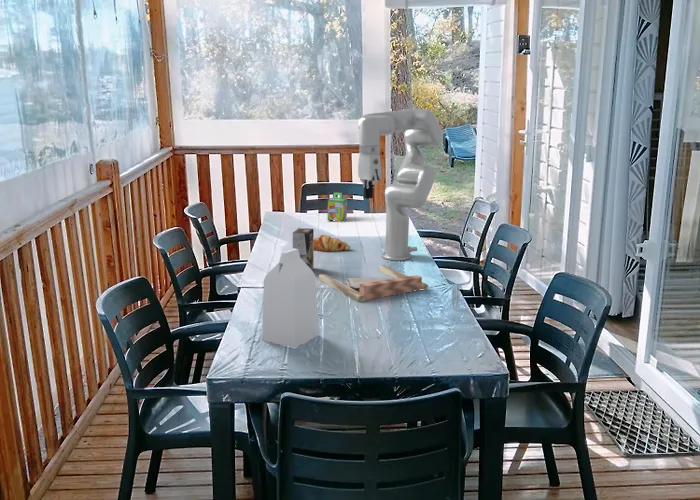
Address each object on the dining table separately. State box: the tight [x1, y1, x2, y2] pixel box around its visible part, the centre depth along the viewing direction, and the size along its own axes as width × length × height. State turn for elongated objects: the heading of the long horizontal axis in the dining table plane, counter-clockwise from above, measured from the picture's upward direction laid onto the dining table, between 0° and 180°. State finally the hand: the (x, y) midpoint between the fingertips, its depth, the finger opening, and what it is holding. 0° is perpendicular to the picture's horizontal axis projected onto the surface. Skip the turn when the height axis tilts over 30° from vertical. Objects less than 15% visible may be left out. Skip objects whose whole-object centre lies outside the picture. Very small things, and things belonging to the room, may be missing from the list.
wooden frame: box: [318, 264, 429, 303], centre depth 240 cm, size 29×29×5 cm
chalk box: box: [326, 192, 348, 222], centre depth 352 cm, size 9×9×15 cm
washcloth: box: [344, 277, 392, 292], centre depth 238 cm, size 12×18×3 cm, turn 97°
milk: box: [261, 248, 320, 349], centre depth 187 cm, size 12×12×26 cm
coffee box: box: [292, 227, 315, 271], centre depth 256 cm, size 9×6×16 cm
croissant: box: [313, 234, 351, 252], centre depth 291 cm, size 21×10×8 cm, turn 82°
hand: (368, 198), depth 252 cm, fingers closed
